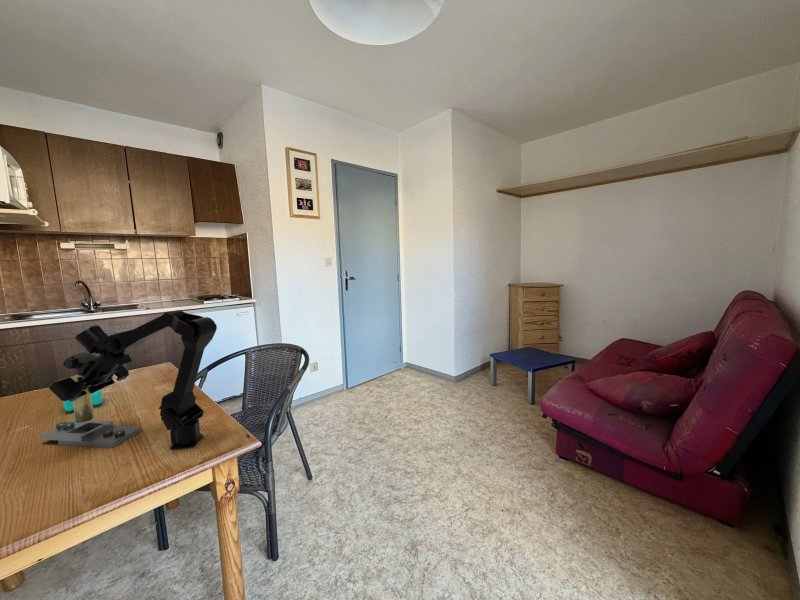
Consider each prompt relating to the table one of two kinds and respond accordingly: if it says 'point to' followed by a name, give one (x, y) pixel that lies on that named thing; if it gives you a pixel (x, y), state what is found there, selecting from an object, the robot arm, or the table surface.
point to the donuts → (95, 400)
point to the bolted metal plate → (90, 433)
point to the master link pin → (83, 405)
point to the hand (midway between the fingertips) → (78, 397)
